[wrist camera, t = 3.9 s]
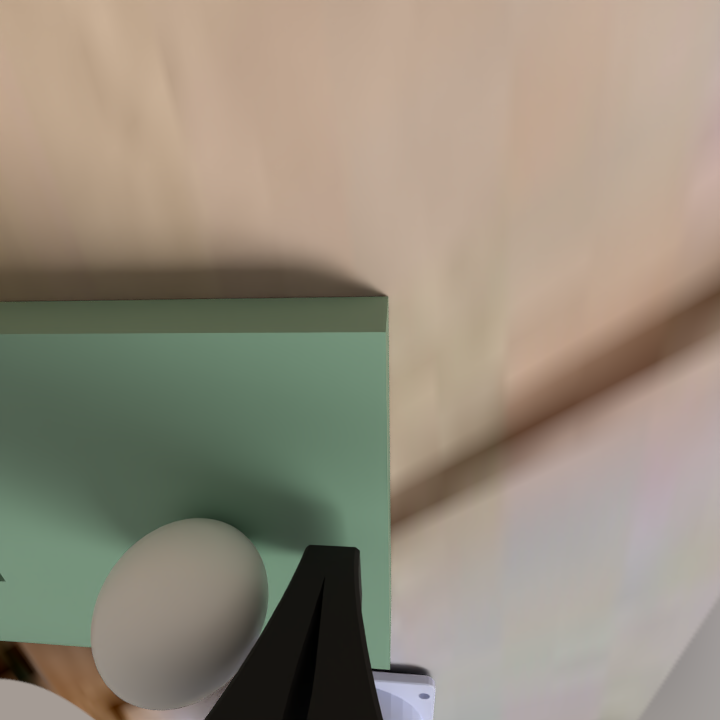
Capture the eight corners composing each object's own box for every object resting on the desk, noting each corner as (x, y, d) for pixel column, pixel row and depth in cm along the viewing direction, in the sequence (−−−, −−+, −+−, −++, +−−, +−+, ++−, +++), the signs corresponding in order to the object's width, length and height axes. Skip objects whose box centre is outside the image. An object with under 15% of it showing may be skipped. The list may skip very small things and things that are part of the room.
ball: (293, 583, 12) (250, 753, 9) (171, 577, 13) (84, 737, 9) (275, 487, 11) (214, 651, 7) (135, 483, 11) (10, 636, 7)
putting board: (390, 600, 16) (389, 669, 14) (-83, 572, 18) (-149, 629, 16) (388, 296, 11) (385, 332, 8) (-301, 305, 13) (-450, 336, 10)
